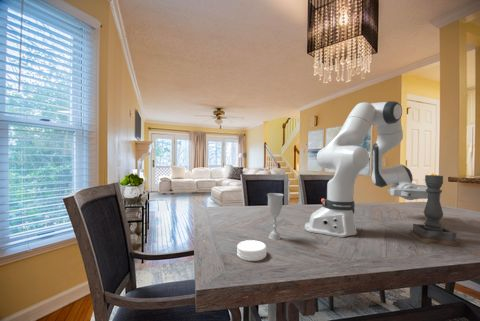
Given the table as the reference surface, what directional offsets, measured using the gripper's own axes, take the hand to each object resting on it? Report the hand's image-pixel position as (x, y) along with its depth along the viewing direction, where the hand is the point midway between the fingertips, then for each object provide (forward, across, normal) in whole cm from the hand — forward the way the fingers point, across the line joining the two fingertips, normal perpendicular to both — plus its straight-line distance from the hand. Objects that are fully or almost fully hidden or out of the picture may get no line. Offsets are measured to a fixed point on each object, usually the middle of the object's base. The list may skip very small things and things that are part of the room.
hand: (421, 195), depth 104 cm
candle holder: (+11, 0, +15) cm, 19 cm away
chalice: (+32, -63, +16) cm, 72 cm away
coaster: (+51, -68, +17) cm, 86 cm away
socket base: (+12, 0, +17) cm, 20 cm away
